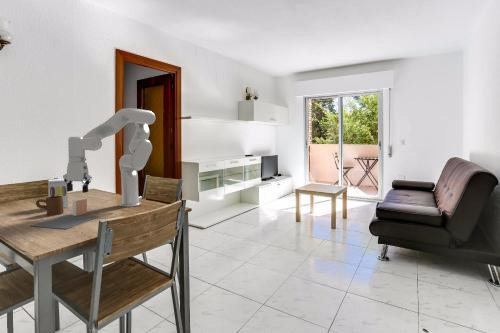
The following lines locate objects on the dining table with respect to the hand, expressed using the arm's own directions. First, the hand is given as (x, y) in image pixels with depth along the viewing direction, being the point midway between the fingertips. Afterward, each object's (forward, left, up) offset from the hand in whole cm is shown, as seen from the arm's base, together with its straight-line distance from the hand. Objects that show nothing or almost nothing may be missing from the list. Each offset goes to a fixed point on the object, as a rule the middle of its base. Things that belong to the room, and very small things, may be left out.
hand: (77, 191), depth 152 cm
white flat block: (0, 0, -12) cm, 12 cm away
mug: (+3, -15, -13) cm, 20 cm away
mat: (+12, +4, -13) cm, 18 cm away
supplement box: (-12, -25, -13) cm, 30 cm away
